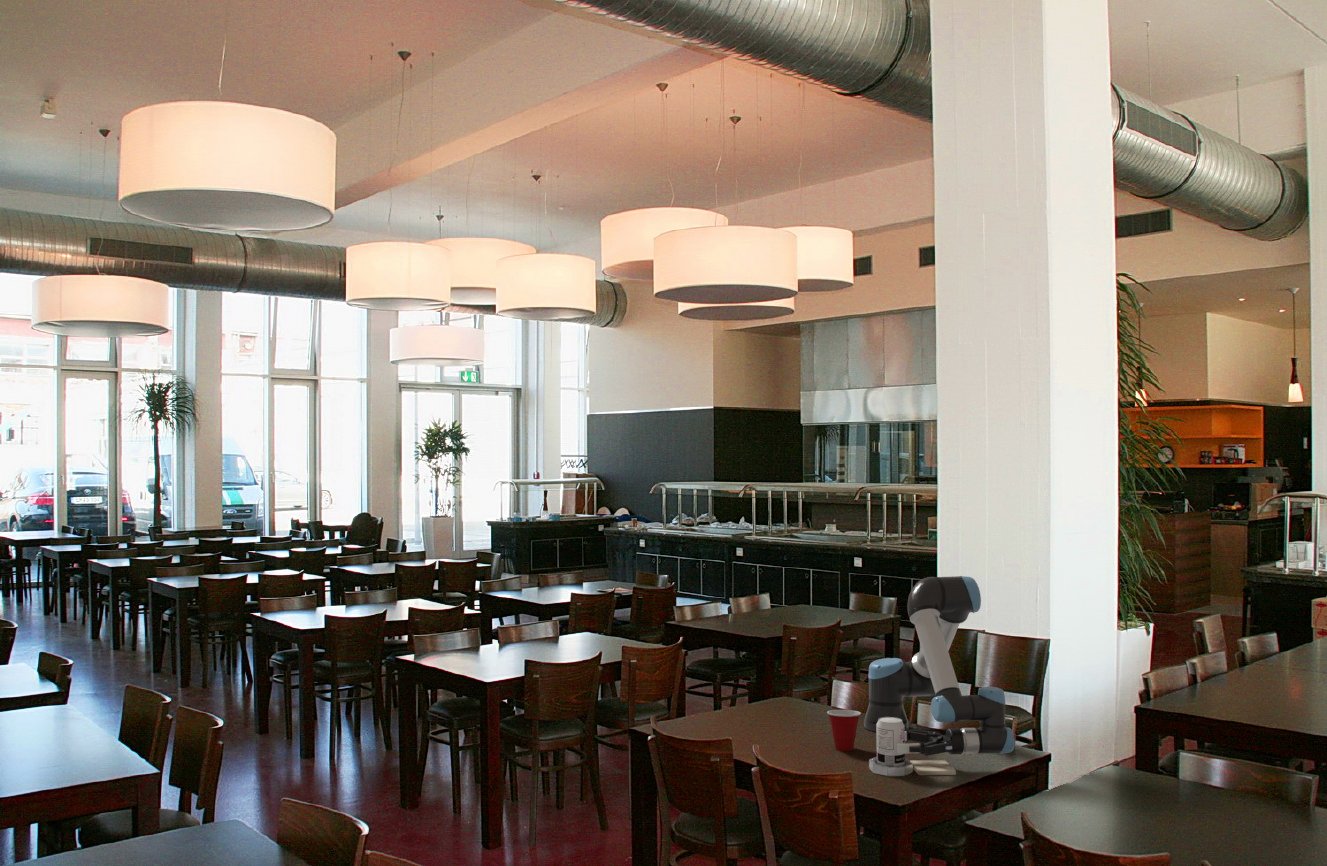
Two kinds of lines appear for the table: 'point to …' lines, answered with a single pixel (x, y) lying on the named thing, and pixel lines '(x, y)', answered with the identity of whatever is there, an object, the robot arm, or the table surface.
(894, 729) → the supplement can
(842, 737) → the plastic cup
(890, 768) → the collar
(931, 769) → the board
